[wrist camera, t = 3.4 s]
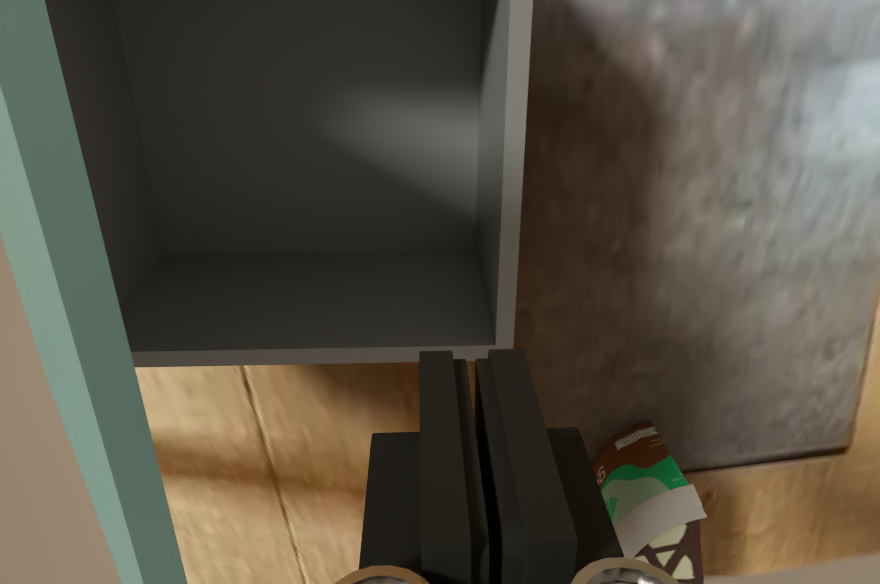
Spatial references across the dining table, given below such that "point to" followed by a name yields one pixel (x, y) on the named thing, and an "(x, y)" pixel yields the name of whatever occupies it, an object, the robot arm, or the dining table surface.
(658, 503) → the food container
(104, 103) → the carton
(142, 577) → the lid
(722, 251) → the dining table surface
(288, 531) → the dining table surface
